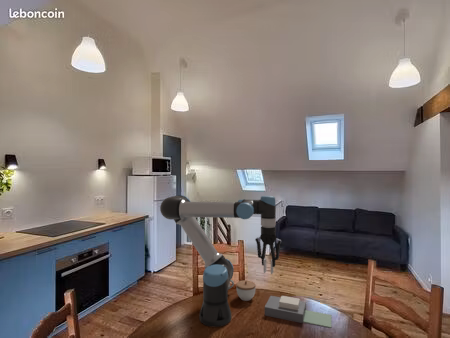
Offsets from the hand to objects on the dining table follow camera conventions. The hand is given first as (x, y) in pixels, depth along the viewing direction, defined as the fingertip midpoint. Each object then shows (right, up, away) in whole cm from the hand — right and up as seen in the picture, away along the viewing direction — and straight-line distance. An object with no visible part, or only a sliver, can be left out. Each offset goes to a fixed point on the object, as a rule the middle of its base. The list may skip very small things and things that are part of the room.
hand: (268, 272), depth 133 cm
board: (+8, -18, -4) cm, 20 cm away
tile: (+10, -14, -4) cm, 18 cm away
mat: (+22, -18, -10) cm, 30 cm away
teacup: (-23, -19, +20) cm, 36 cm away
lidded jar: (-11, -19, +12) cm, 25 cm away
